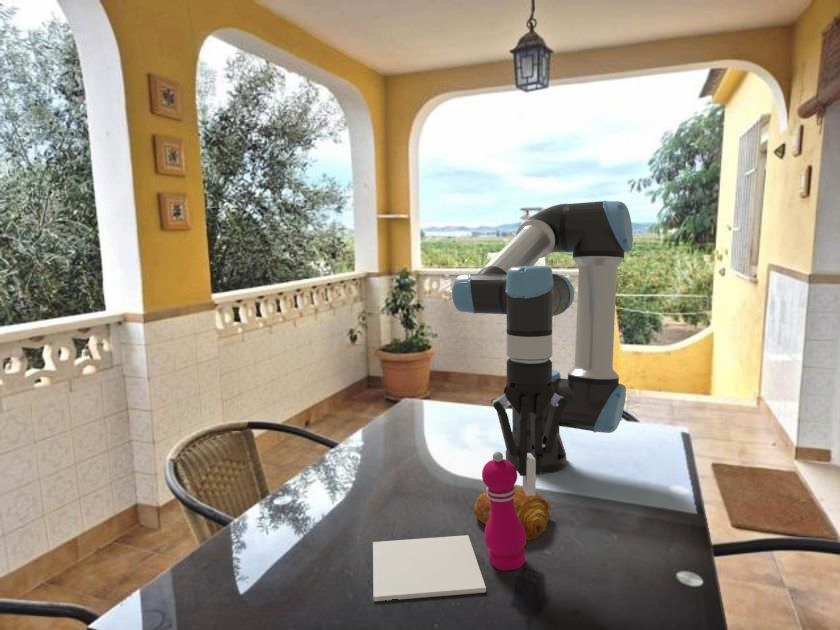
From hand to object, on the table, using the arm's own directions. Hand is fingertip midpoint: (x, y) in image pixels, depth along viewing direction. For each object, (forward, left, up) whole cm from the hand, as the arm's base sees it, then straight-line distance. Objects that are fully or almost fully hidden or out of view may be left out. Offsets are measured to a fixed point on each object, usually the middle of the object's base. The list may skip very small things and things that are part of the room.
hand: (528, 492), depth 94 cm
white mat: (+18, 0, -13) cm, 22 cm away
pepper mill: (+4, 0, -13) cm, 13 cm away
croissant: (-1, -13, -13) cm, 19 cm away
